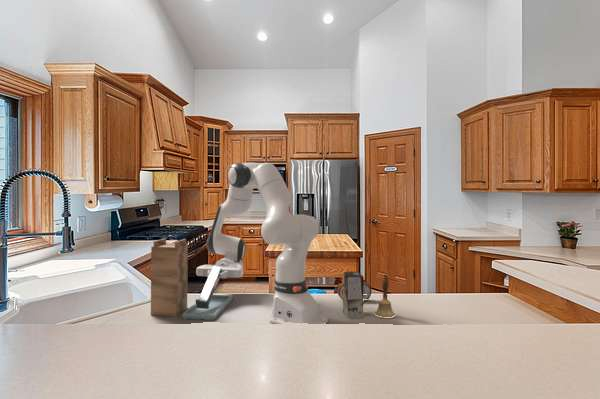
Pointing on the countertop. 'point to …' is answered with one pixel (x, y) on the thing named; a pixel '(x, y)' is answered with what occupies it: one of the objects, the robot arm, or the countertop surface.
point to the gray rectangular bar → (209, 288)
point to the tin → (365, 290)
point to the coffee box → (353, 294)
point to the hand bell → (385, 301)
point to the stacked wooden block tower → (169, 277)
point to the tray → (213, 312)
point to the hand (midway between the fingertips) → (214, 275)
